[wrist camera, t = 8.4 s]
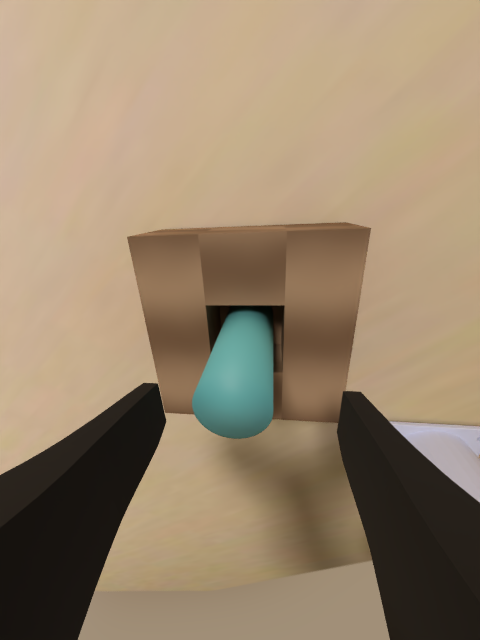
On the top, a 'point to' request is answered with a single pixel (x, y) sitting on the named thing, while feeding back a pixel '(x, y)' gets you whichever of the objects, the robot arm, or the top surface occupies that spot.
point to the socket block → (255, 289)
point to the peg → (238, 375)
